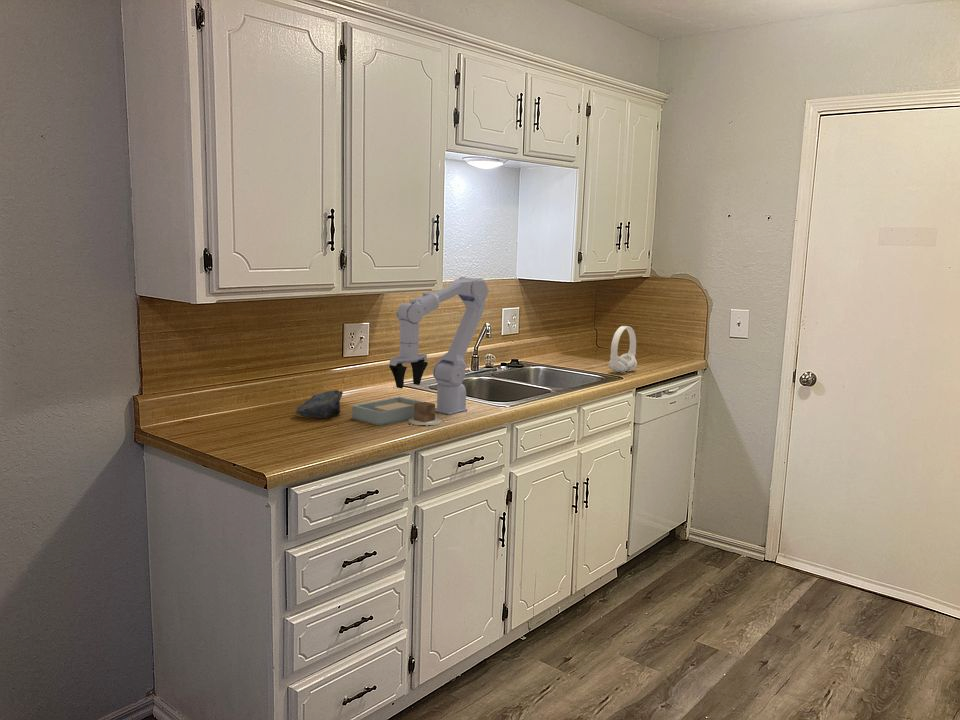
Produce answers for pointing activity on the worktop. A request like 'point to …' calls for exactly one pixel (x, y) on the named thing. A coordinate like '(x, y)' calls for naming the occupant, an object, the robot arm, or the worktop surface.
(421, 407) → the block
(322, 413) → the rock
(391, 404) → the caddy
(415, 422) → the coaster
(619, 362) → the headphones
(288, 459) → the worktop surface
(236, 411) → the worktop surface
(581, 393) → the worktop surface
